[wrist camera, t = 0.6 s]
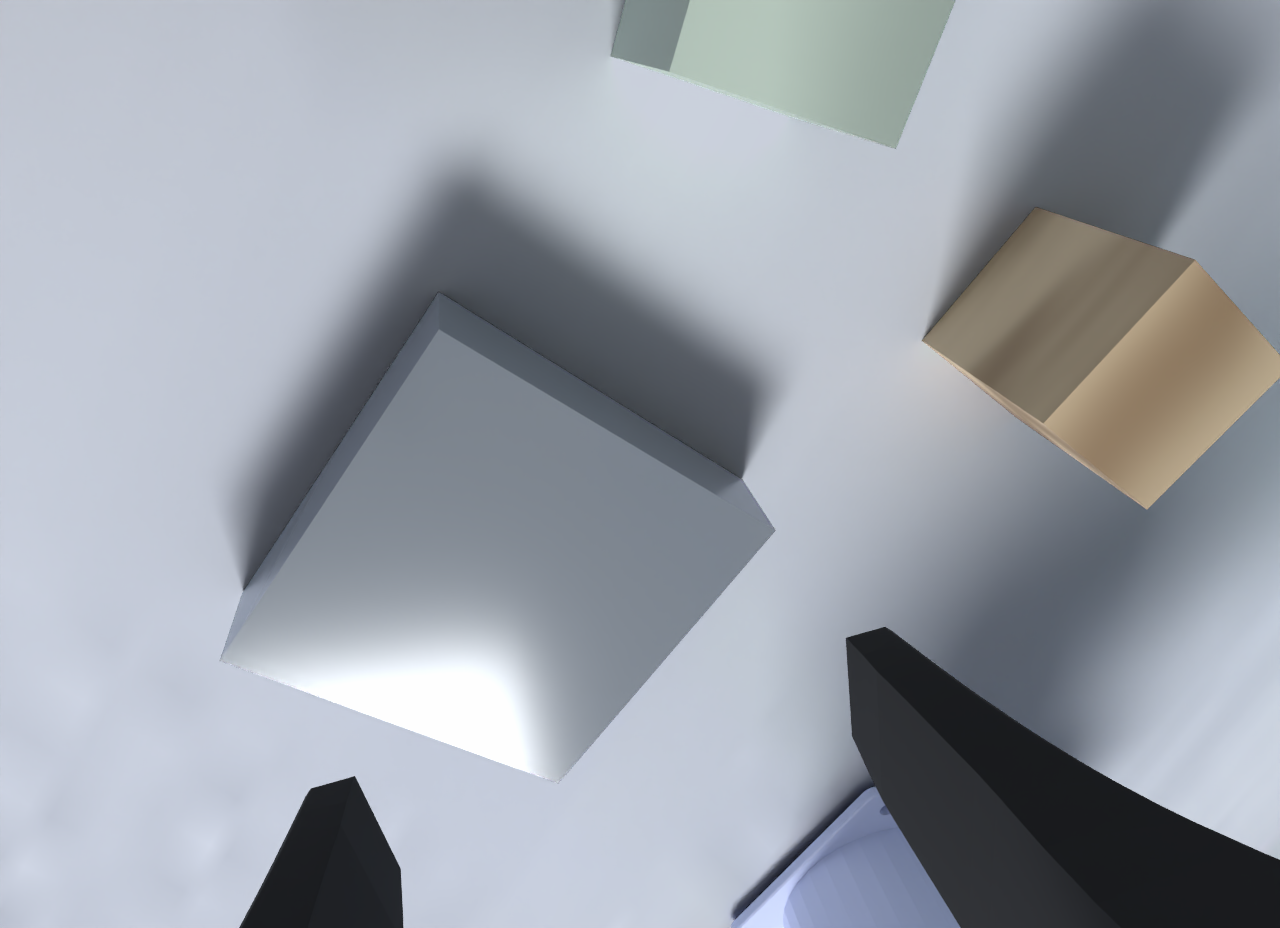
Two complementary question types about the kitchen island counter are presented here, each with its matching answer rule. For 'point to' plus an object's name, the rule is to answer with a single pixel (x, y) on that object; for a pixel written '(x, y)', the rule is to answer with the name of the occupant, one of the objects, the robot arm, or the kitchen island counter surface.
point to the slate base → (494, 553)
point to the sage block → (795, 55)
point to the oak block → (1107, 350)
